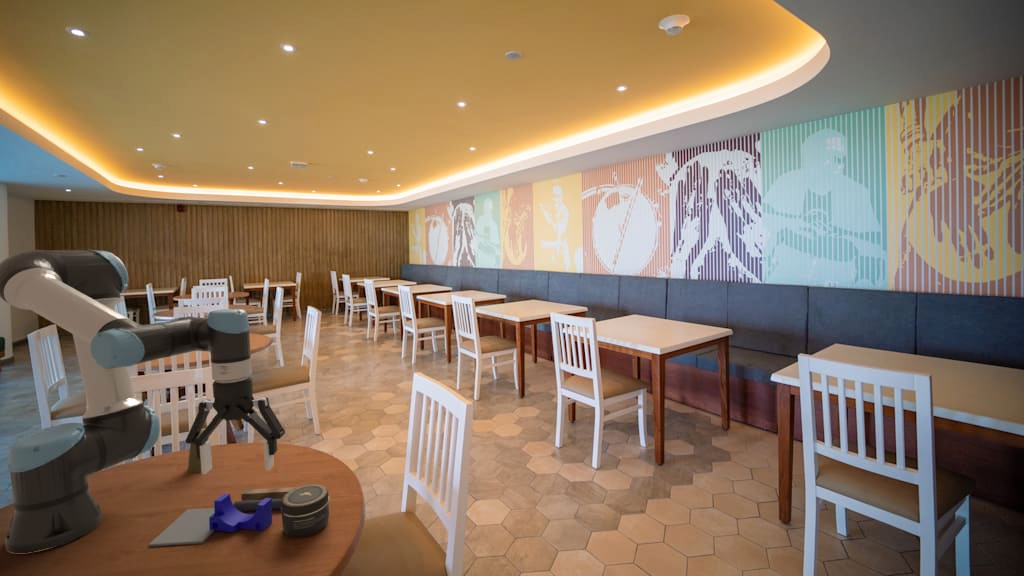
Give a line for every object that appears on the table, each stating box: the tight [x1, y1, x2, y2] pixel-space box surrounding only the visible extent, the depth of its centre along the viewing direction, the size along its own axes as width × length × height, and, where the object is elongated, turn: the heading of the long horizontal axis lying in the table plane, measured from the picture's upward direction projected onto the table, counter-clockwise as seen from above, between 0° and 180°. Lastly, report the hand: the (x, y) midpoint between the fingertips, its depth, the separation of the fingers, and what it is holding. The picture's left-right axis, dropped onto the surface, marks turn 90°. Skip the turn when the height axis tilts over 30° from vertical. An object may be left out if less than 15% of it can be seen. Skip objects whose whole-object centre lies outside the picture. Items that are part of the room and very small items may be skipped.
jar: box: [280, 483, 330, 539], centre depth 102 cm, size 10×10×8 cm
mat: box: [148, 507, 216, 547], centre depth 102 cm, size 11×13×1 cm
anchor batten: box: [240, 486, 298, 501], centre depth 113 cm, size 14×2×2 cm, turn 95°
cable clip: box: [209, 493, 273, 533], centre depth 101 cm, size 12×4×6 cm, turn 84°
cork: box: [187, 429, 213, 474], centre depth 130 cm, size 6×6×11 cm
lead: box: [233, 499, 282, 513], centre depth 109 cm, size 14×2×2 cm
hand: (238, 469), depth 100 cm, fingers open, 13 cm apart
